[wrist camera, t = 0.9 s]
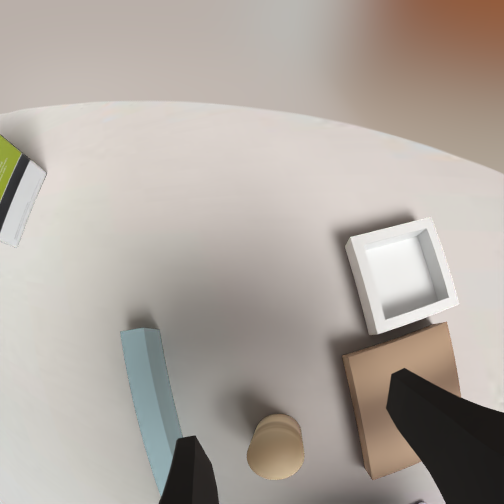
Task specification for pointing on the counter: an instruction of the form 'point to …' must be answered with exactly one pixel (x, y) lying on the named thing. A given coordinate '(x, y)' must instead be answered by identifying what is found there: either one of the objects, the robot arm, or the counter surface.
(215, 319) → the counter surface
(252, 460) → the rounded wooden peg
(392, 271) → the cradle
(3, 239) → the tea box
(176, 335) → the counter surface
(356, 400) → the walnut slab
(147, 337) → the rail
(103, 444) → the counter surface
